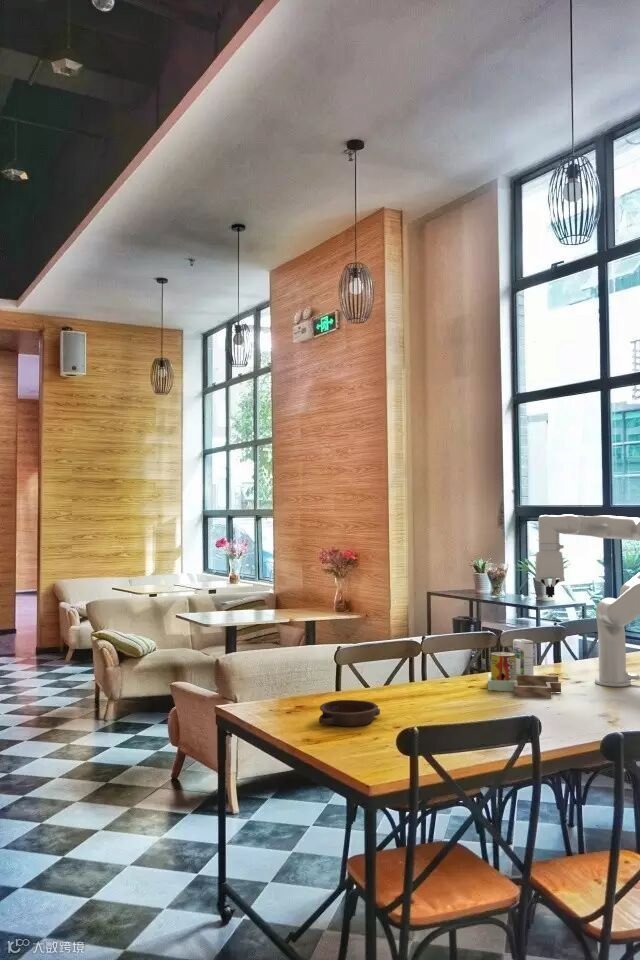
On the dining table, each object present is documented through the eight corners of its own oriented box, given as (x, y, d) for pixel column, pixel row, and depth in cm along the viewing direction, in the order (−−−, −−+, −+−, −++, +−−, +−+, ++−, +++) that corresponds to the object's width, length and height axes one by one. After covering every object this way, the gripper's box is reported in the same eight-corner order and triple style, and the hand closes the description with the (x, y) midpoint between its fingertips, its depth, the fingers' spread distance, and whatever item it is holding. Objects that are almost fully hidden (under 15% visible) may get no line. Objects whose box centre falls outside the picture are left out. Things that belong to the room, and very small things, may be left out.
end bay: (516, 683, 297) (516, 674, 297) (517, 691, 283) (517, 681, 283) (488, 682, 299) (488, 673, 299) (487, 690, 285) (487, 680, 285)
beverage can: (489, 688, 288) (489, 655, 289) (493, 683, 297) (492, 651, 297) (515, 690, 285) (514, 656, 286) (518, 685, 294) (517, 652, 294)
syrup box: (512, 676, 310) (511, 639, 311) (524, 675, 312) (524, 638, 313) (522, 679, 305) (521, 641, 306) (534, 678, 307) (533, 640, 308)
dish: (303, 722, 243) (302, 705, 243) (359, 711, 256) (359, 695, 256) (337, 734, 229) (337, 716, 229) (395, 722, 242) (395, 705, 242)
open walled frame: (558, 685, 293) (558, 676, 293) (563, 698, 272) (562, 688, 272) (491, 683, 298) (491, 673, 298) (491, 695, 277) (491, 685, 277)
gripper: (569, 547, 301) (570, 596, 300) (528, 547, 305) (529, 595, 304) (570, 548, 294) (571, 598, 293) (529, 548, 297) (530, 597, 296)
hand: (550, 596), depth 298 cm, fingers closed
